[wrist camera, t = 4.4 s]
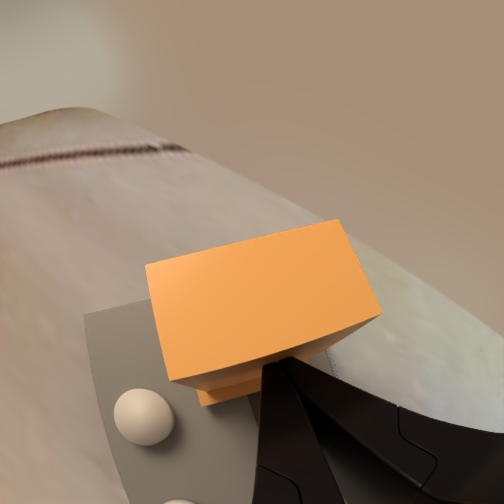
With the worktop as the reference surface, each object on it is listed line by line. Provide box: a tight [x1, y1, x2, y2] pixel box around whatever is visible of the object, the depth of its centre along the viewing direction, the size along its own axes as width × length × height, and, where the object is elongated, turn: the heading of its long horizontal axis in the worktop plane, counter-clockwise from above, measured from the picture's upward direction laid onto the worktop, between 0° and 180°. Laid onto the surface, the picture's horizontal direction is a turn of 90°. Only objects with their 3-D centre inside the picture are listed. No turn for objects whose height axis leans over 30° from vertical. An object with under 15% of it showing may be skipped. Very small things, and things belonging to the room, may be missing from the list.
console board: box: [84, 299, 348, 504], centre depth 12 cm, size 16×12×2 cm
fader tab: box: [145, 219, 382, 407], centre depth 10 cm, size 4×5×9 cm
